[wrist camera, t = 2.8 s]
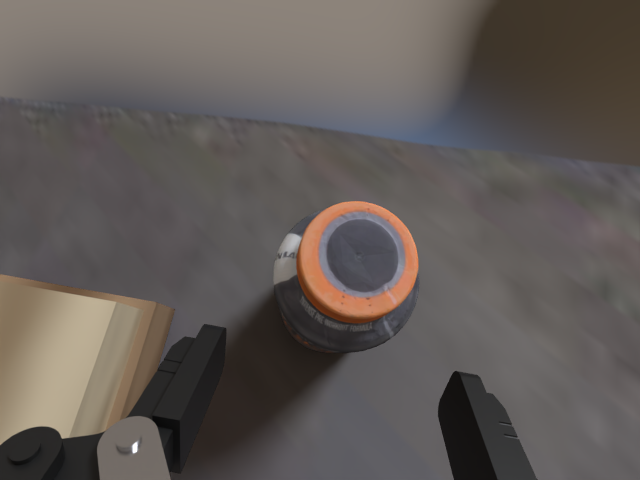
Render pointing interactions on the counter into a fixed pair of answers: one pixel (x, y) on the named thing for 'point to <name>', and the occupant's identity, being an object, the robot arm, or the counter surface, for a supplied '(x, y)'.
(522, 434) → the counter surface
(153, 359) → the tower base
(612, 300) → the counter surface
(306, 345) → the pill bottle
